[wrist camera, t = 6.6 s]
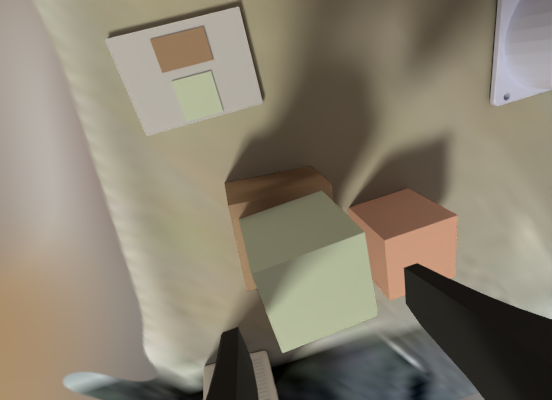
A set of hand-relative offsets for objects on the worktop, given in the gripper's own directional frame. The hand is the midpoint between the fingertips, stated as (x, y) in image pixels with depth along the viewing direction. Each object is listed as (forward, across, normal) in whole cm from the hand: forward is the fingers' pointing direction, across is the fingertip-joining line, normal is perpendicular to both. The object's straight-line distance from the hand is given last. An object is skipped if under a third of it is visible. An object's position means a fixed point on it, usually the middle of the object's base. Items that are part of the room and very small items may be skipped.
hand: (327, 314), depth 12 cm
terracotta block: (+10, -8, +4) cm, 13 cm away
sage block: (+6, 0, 0) cm, 6 cm away
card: (+10, +2, -10) cm, 14 cm away
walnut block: (+10, 0, 0) cm, 10 cm away
